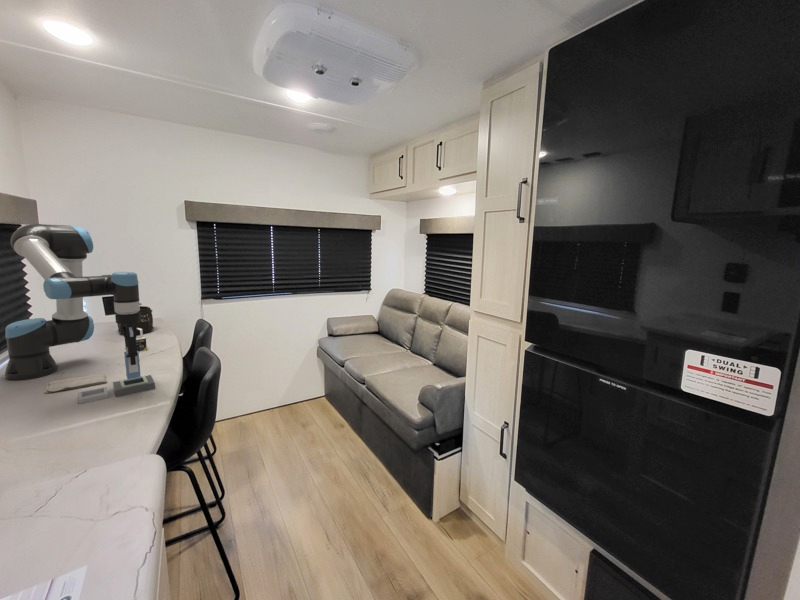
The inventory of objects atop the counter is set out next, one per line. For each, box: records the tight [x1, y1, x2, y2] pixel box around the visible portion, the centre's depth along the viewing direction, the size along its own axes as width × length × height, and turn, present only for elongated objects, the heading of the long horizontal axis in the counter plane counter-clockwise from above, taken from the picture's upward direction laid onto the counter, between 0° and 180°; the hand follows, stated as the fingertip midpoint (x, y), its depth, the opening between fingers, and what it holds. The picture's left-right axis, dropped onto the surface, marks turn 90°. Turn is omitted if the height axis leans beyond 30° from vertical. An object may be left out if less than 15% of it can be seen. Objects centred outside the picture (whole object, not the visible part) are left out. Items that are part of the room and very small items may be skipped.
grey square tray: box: [77, 386, 110, 405], centre depth 123 cm, size 8×8×2 cm
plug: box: [123, 347, 141, 379], centre depth 129 cm, size 4×4×12 cm
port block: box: [112, 374, 156, 398], centre depth 131 cm, size 12×10×4 cm
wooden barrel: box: [116, 305, 154, 336], centre depth 209 cm, size 18×18×16 cm
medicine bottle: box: [136, 328, 148, 353], centre depth 176 cm, size 7×7×12 cm
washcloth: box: [43, 373, 108, 395], centre depth 132 cm, size 12×18×3 cm, turn 134°
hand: (132, 370), depth 130 cm, fingers closed on plug, 4 cm apart
